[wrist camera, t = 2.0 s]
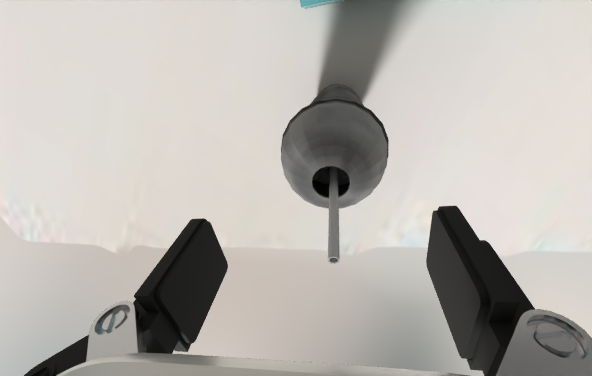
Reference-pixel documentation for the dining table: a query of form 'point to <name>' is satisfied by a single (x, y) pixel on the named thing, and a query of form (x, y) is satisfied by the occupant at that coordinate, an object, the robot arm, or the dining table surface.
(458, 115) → the dining table surface
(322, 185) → the beverage cup
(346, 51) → the dining table surface
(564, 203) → the dining table surface
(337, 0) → the tray
